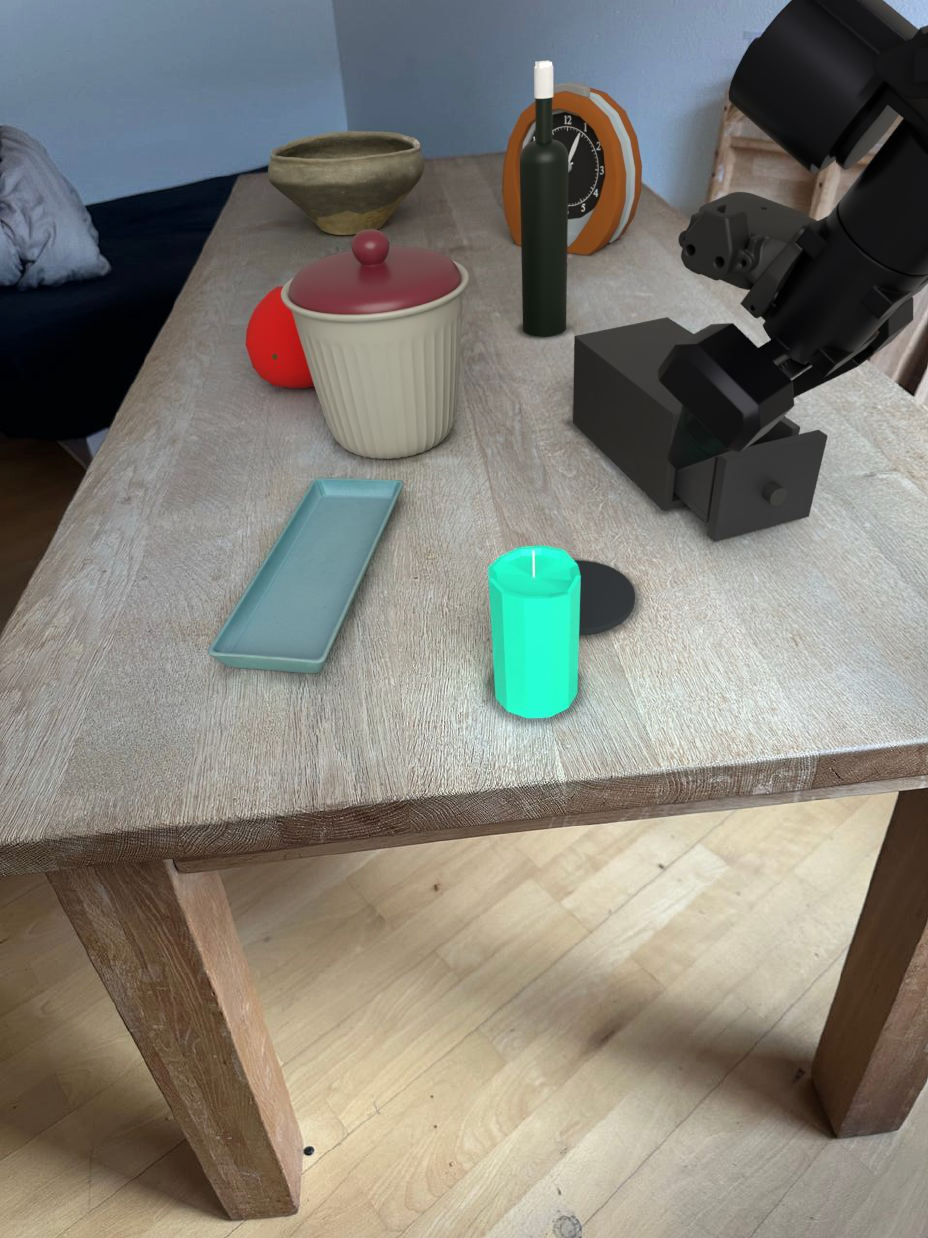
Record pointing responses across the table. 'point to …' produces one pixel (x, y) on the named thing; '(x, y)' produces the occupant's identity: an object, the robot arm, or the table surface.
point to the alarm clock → (583, 166)
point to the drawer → (755, 482)
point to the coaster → (603, 597)
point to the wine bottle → (544, 218)
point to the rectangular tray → (308, 578)
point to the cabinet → (630, 401)
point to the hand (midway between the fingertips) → (714, 435)
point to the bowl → (347, 177)
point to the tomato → (277, 344)
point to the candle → (535, 630)
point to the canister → (382, 343)
